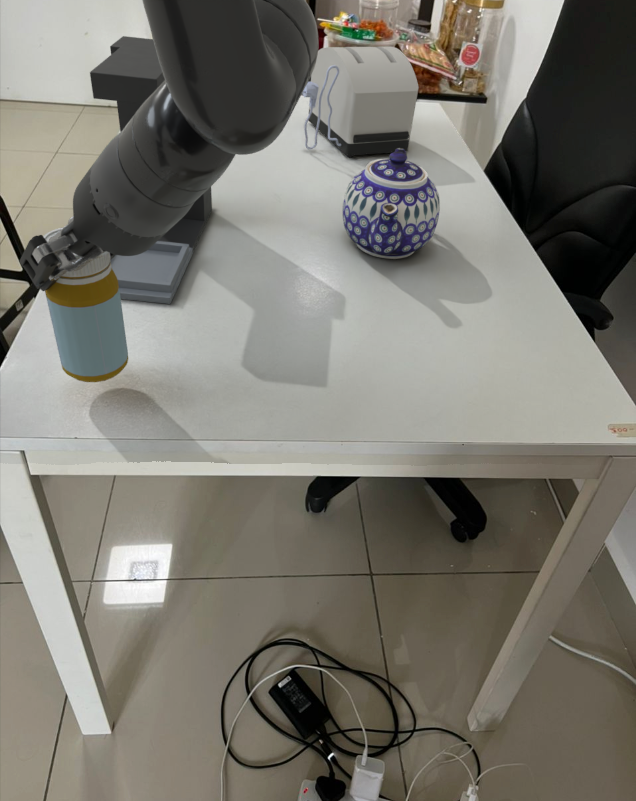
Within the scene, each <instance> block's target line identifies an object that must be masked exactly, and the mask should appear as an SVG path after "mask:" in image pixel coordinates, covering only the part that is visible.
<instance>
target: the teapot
mask: <svg viewBox="0 0 636 801" xmlns="http://www.w3.org/2000/svg"><path fill="white" fill-rule="evenodd" d="M428 174H429V173H428V172H427V171H426V169H424V167H422V166H420V165H418V164H416V163H414V162H412V161H408V155H407V151H405V150H404V149H400V148H398V149H396V150H395V152H390V154H389V156H388V158H379V159H373V160H371V161H370V162H368V163H367V164H366V166H365V169H363V170H361V171H360V172H358V173H356V175H355V176H353V178H352V179H351V180H350V182H349V183H348V186H347V187H346V190H345V192H344V196H343V203H342V222H343V227H344V230H345V232H346V234H347V235H348V237H349V238H350V240H352V241H353V242H354V243H355V245H356V246H357V247H358V249H360V250H361V251H362V252H363V253H366V254H367V255H370V256H373V257H377V258H382V259H391V260H392V259H393V260H396V259H397V260H399V259H404V258H408V257H410V256H411V255H413V254H414V253H415V252H417V251H419V250H420V249H422V248H423V247H424V246H426V245H427V244H428V243H429V242H430V240H431V239H432V237H433V236H434V234H435V231H436V228H437V226H438V221H439V217H440V209H441V206H440V204H441V203H440V201H441V200H440V195H439V192H438V189H437V187H436V185H435V183H434V182H433V181H432V180H431V179H430V178H429V176H428Z"/></svg>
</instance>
